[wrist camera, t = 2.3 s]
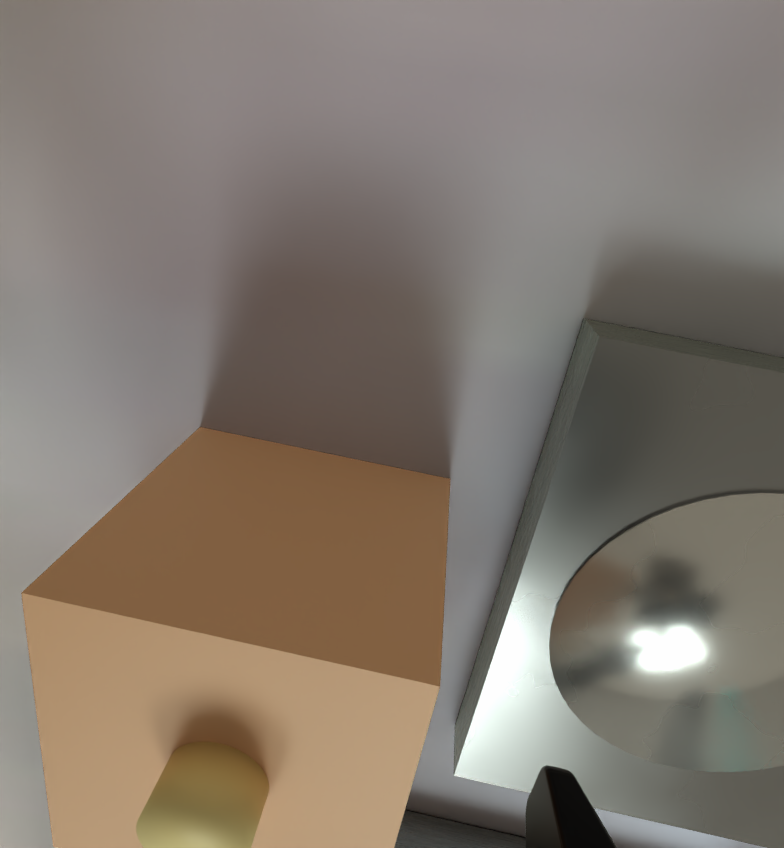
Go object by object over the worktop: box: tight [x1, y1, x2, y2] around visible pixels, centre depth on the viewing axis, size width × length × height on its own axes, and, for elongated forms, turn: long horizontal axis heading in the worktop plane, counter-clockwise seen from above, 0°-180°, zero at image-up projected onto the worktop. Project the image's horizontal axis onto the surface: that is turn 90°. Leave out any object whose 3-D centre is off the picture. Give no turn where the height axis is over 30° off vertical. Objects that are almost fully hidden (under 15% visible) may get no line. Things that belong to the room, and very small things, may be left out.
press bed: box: [454, 319, 784, 848], centre depth 11 cm, size 10×8×1 cm
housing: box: [21, 427, 450, 848], centre depth 9 cm, size 5×5×6 cm
